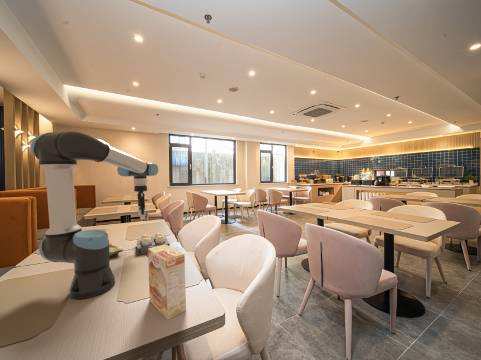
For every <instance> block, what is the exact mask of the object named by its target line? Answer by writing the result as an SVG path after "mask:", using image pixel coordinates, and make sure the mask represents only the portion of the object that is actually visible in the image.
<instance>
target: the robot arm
mask: <svg viewBox="0 0 481 360" xmlns="http://www.w3.org/2000/svg"><path fill="white" fill-rule="evenodd" d="M30 151H31V153H32V156H34V157H35V159H37V160H39V163H38V164H39V166H40V167H41V168H43V169H44V170H45V172H44V173H45V183H46V194H47V196H46V197H47V207H48V220H49V228H48V230H46V231H45V233H44V235H45V237H43V239H42V241H40V243H39V247H38V251H39V255H40V256H41V257H42V258H43V259H44V260H46V261H48V262H52V263H67V264H69V263H70V264H73V266H74V275H73V278H72V281H71V284H70V287H69V298H71V299H73V300H84V299H89V298H93V297H96V296H100V295H102V294H103V293H106V292H107V291H109V290H111V289H112V288H113V287H114V286H115V283H116V277H115V274H114V273H113V270H112V269H111V265H110V257H109V243H110V239H109V234H108V233H107V232H106V231H105V230H102V229H85V230H82V229H83V228H82V226H81V225H79V224H78V222H77V210H76V198H75V197H76V195H75V182H74V169H75V168H76V167H77V166H78V161H91V162H96V163H102V162H103V163H106V164H109V165H112V166H114V167H115V166H116V167H117V168H116V169H117V171H116V172H117V174H118V175H119V176H121V177H126V178H127V177H133V185H134V187H133V191H134V192H135V193H137V208H138V209H137V210H138V217H140V221H142V220H146V204H145V202H146V201H145V193H144V192H147V191H148V186H147V185H148V181H149V180H148V178H147V177H152V176H153V177H154V176H157V175H158V174H159V166H158V164H157V163H155V162H147V161H144V160H142V159H140V158H137V157H135V156H133V155H131V154H129V153H127V152H124V151H121V150H119V149H116V148H115V147H112V146H110V144H109V143H108V142H106V141H104V140H102V139H100V138H97V137H96V136H93V135H90V134H87V133H84V132H81V131H76V130H68V131H55V132H52V131H51V132H50V131H49V132H46V133H41V134H39V135H37V136H35V137H34V138H33V139H32V141H31V143H30Z"/></svg>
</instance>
